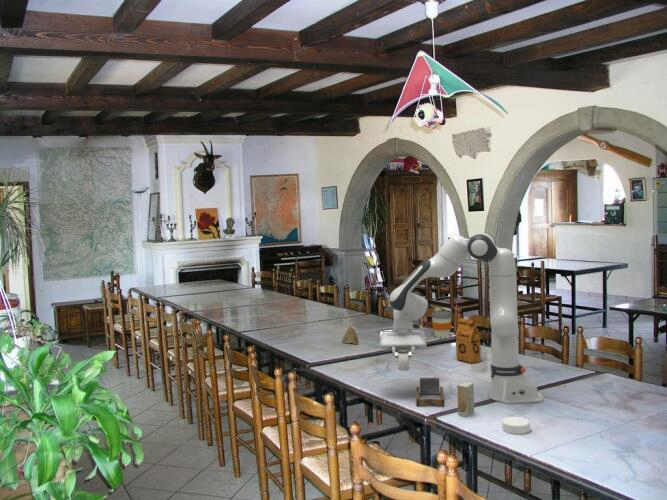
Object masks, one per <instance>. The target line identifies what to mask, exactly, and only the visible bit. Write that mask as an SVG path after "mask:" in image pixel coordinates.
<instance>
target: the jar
mask: <svg viewBox="0 0 667 500" xmlns="http://www.w3.org/2000/svg"><path fill="white" fill-rule="evenodd" d="M409 352H410V349H404V348H403V349H398V350H397V353H398V358H397V360H398V362H397V364H398V371H404V372H406V371H409V370H410V358H409Z"/></svg>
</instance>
